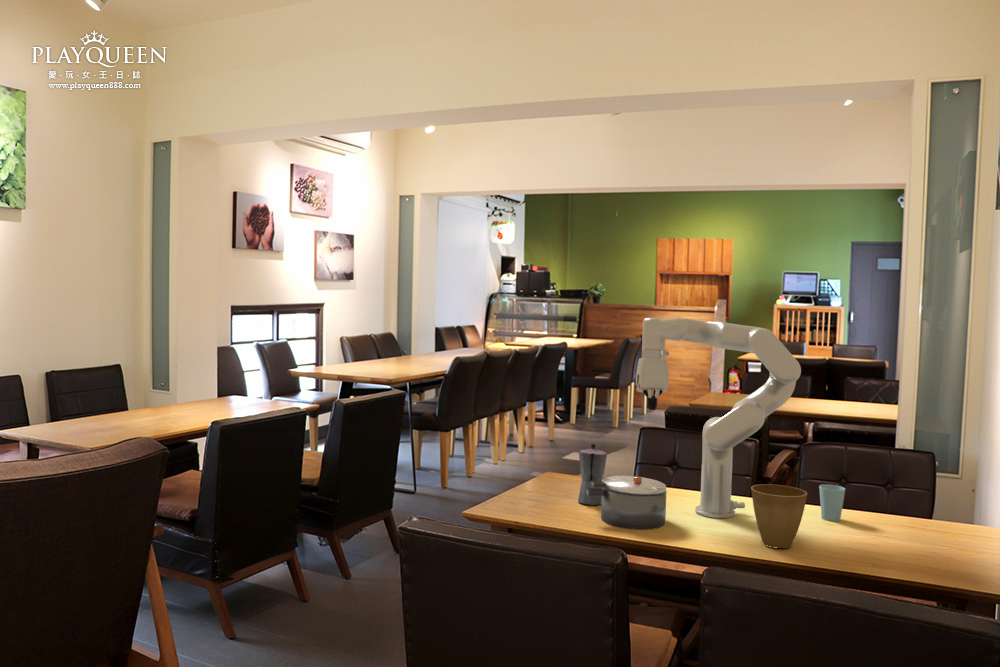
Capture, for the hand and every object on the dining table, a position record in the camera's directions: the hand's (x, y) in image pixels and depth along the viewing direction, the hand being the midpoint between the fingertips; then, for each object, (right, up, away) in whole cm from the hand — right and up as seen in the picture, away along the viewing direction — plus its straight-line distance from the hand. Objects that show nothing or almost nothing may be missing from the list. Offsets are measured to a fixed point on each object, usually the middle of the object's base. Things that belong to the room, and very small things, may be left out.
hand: (651, 409), depth 243 cm
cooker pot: (-11, -33, -14) cm, 38 cm away
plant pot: (+28, -35, -35) cm, 57 cm away
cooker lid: (-10, -23, -15) cm, 29 cm away
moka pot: (-20, -33, +5) cm, 38 cm away
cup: (+57, -35, -7) cm, 67 cm away
